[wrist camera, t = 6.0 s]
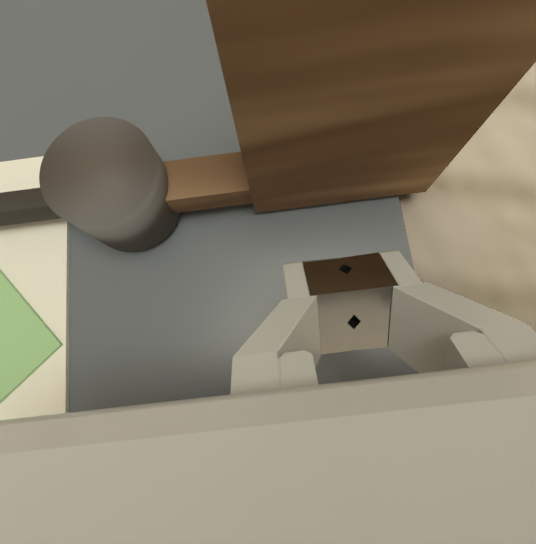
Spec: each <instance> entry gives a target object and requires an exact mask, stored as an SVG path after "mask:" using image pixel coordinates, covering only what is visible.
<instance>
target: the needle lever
mask: <svg viewBox="0 0 536 544" xmlns="http://www.w3.org/2000/svg"><path fill="white" fill-rule="evenodd" d="M206 3H207V7H208V12H209V16H210V20H211V25H212V29H213V33H214V38H215V42H216V46H217V51H218V55H219V59H220V63H221V68H222V72H223V76H224V81H225V85H226V89H227V94H228V98H229V102H230V107H231V111H232V115H233V120H234V124H235V128H236V133H237V137H238V141H239V146H240V150H241V152H233V153H225V154H218V155H210V156H203V157H195V158H187V159H180V160H172V161H165V162H163V161H162V159H161V158H160V156H159V155H158V153H157V152H156V150H155V149H154V147H153V146H152V144H151V143H150V141H149V139H148V138H147V136H146V135H145V134H144V133H143V132H142V131H141V130H140V129H139V128H138V127H137V126H135V125H133V124H132V123H130V122H128V121H126V120H123V119H119V118H115V117H95V118H90V119H86V120H83V121H80V122H78V123H76V124H74V125H72V126H70V127H69V128H67V129H66V130H65V131H63V132H62V133H61V134H60V135H59V136H58V137H56V139H55V140H54V141H53V142H52V143H51V145H50V146H49V148H48V149H47V151H46V153H45V155H44V157H43V160H42V162H41V167H40V173H39V184H40V188H33V189H25V190H17V191H10V192H2V193H0V226H6V225H14V224H21V223H29V222H37V221H45V220H52V219H60V218H63V219H64V220H66V221H68V222H69V223H71V224H73V225H74V226H76V227H78V228H79V229H81V230H83V231H84V232H86V233H88V234H89V235H91V236H92V237H94V238H96V239H97V240H99V241H101V242H102V243H104V244H106V245H107V246H109V247H111V248H113V249H116V250H120V251H125V252H137V251H142V250H146V249H149V248H151V247H153V246H155V245H157V244H159V243H160V242H162V241H163V240H164V239H165V238H166V237H167V236H168V235H169V234H170V233H171V232H172V231H173V229H174V228H175V226H176V224H177V222H178V220H179V218H180V214H181V212H187V211H195V210H203V209H211V208H219V207H226V206H234V205H242V204H250V203H253V206H254V210H255V213H262V212H270V211H278V210H285V209H293V208H301V207H309V206H317V205H325V204H333V203H340V202H348V201H356V200H364V199H372V198H380V197H388V196H395V195H403V194H411V193H419V192H426V191H427V189H428V188H429V187H430V186H431V185H432V183H433V182H434V181H435V180H436V179H437V178H438V176H439V175H440V174H441V173H442V172H443V170H444V169H445V168H446V167H447V166H448V165H449V163H450V162H451V161H452V160H453V159H454V157H455V156H456V155H457V154H458V153H459V152H460V150H461V149H462V148H463V147H464V146H465V144H466V143H467V142H468V141H469V140H470V139H471V137H472V136H473V135H474V134H475V133H476V131H477V130H478V129H479V128H480V127H481V126H482V124H483V123H484V122H485V121H486V120H487V118H488V117H489V116H490V115H491V114H492V113H493V111H494V110H495V109H496V108H497V107H498V105H499V104H500V103H501V102H502V101H503V100H504V98H505V97H506V96H507V95H508V94H509V92H510V91H511V90H512V89H513V88H514V86H515V85H516V84H517V83H518V82H519V81H520V79H521V78H522V77H523V76H524V75H525V73H526V72H527V71H528V70H529V69H530V68H531V66H532V65H533V64H534V63H535V62H536V0H206Z"/></svg>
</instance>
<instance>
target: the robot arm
mask: <svg viewBox="0 0 536 544" xmlns="http://www.w3.org/2000/svg"><path fill="white" fill-rule="evenodd" d="M282 267H283V276H284V285H285V294H286V299H283V300H281V301H280V302H279V303H278V305H277V306H276V307H275V308H274V309H273V310H272V312H271V313H270V314H269V315H268V316H267V317H266V319H265V320H264V321H263V322H262V323H261V324H260V326H259V327H258V328H257V329H256V330H255V331H254V333H253V334H252V335H251V336H250V337H249V338H248V340H247V341H246V342H245V343H244V344H243V345H242V347H241V348H240V349H239V350H238V351H237V352H236V354H235V355H234V356H233V359H232V375H231V391H230V395H221V396H212V397H203V398H194V399H185V400H177V401H168V402H159V403H150V404H141V405H132V406H123V407H114V408H105V409H96V410H87V411H78V412H69V413H61V414H52V415H43V416H34V417H25V418H16V419H7V420H0V544H536V332H535V331H534V330H533V329H532V328H531V327H530V326H529V324H528V323H525V322H523V321H520V320H518V319H516V318H513V317H511V316H508V315H506V314H504V313H501V312H499V311H496V310H494V309H492V308H489V307H487V306H484V305H482V304H480V303H477V302H475V301H472V300H470V299H468V298H465V297H463V296H460V295H458V294H456V293H453V292H451V291H448V290H446V289H444V288H441V287H439V286H436V285H434V284H432V283H429V282H425V283H422V282H421V280H420V279H419V277H418V276H417V275H416V273H415V272H414V271H413V269H412V268H411V266H410V265H409V264H408V262H407V261H406V260H405V258H404V257H403V255H402V254H401V253H400V251H398V250H390V251H384V252H377V253H370V254H363V255H357V256H350V257H343V258H330V259H321V260H311V261H302V262H301V261H299V262H292V263H284V264H283V265H282ZM383 347H388V349H389V350H391V351H392V352H393V353H394V354H396V355H397V356H398V357H399V358H401V359H402V360H403V361H404V362H406V363H407V364H408V365H409V366H411V367H412V368H413V369H415V370H416V371H417V372H418V374H409V375H400V376H391V377H382V378H373V379H364V380H355V381H346V382H337V383H328V384H318V379H317V375H316V370H315V367H316V365H317V363H318V361H319V359H320V357H321V355H323V354H330V353H337V352H344V351H351V350H361V349H372V348H383Z"/></svg>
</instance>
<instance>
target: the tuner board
mask: <svg viewBox="0 0 536 544" xmlns="http://www.w3.org/2000/svg"><path fill="white" fill-rule="evenodd" d="M95 117H115V118H119V119H123V120H126V121H128V122H130V123H132V124H133V125H135V126H137V127H138V128H139V129H140V130H141V131H142V132H143V133H144V134H145V135H146V136H147V138H148V139H149V141H150V143H151V144H152V146H153V147H154V149H155V150H156V152H157V153H158V155H159V156H160V158H161V159H162V161H163V162H165V161H172V160H180V159H187V158H195V157H203V156H210V155H218V154H225V153H233V152H241V150H240V146H239V141H238V137H237V133H236V128H235V124H234V120H233V115H232V111H231V107H230V102H229V98H228V94H227V89H226V85H225V81H224V76H223V72H222V68H221V63H220V59H219V55H218V51H217V46H216V42H215V38H214V33H213V29H212V25H211V20H210V16H209V12H208V7H207V3H206V0H0V193H2V192H10V191H17V190H25V189H33V188H40V184H39V173H40V167H41V162H42V160H43V157H44V155H45V153H46V151H47V149H48V148H49V146H50V145H51V143H52V142H53V141H54V140H55V139H56V137H58V136H59V135H60V134H61V133H62V132H63V131H65V130H66V129H67V128H69V127H70V126H72V125H74V124H76V123H78V122H80V121H83V120H86V119H90V118H95ZM390 250H398V251H400V253H401V254H402V255H403V257H404V258H405V260H406V261H407V262H408V264H409V265H410V266H411V268H412V269H413V264H412V259H411V254H410V249H409V244H408V240H407V235H406V230H405V225H404V220H403V216H402V211H401V206H400V201H399V196H398V195H395V196H388V197H380V198H372V199H364V200H356V201H348V202H340V203H333V204H325V205H317V206H309V207H301V208H293V209H285V210H278V211H270V212H262V213H255V210H254V206H253V203H250V204H242V205H234V206H226V207H219V208H211V209H203V210H195V211H187V212H181V214H180V218H179V220H178V222H177V224H176V226H175V228H174V229H173V231H172V232H171V233H170V234H169V235H168V236H167V237H166V238H165V239H164V240H163V241H162V242H160V243H159V244H157V245H155V246H153V247H151V248H149V249H146V250H142V251H137V252H125V251H120V250H116V249H113V248H111V247H109V246H107V245H106V244H104V243H102V242H101V241H99V240H97V239H96V238H94V237H92V236H91V235H89V234H88V233H86V232H84V231H83V230H81V229H79V228H78V227H76V226H74V225H73V224H71V223H69V222H68V221H66V220H64V219H63V218H60V219H52V220H45V221H37V222H29V223H21V224H14V225H6V226H0V420H7V419H16V418H25V417H34V416H43V415H52V414H61V413H69V412H78V411H87V410H96V409H105V408H114V407H123V406H132V405H141V404H150V403H159V402H168V401H177V400H185V399H194V398H203V397H212V396H221V395H230V391H231V375H232V359H233V356H234V355H235V354H236V352H237V351H238V350H239V349H240V348H241V347H242V345H243V344H244V343H245V342H246V341H247V340H248V338H249V337H250V336H251V335H252V334H253V333H254V331H255V330H256V329H257V328H258V327H259V326H260V324H261V323H262V322H263V321H264V320H265V319H266V317H267V316H268V315H269V314H270V313H271V312H272V310H273V309H274V308H275V307H276V306H277V305H278V303H279V302H280V301H281V300H283V299H286V294H285V285H284V276H283V267H282V265H283V264H284V263H292V262H299V261H301V262H302V261H311V260H321V259H330V258H343V257H350V256H357V255H363V254H370V253H377V252H384V251H390ZM413 271H414V269H413ZM315 370H316V375H317V379H318V384H328V383H337V382H346V381H355V380H364V379H373V378H382V377H391V376H400V375H409V374H418V372H417V371H416V370H415V369H413V368H412V367H411V366H409V365H408V364H407V363H406V362H404V361H403V360H402V359H401V358H399V357H398V356H397V355H396V354H394V353H393V352H392V351H391V350H389V349H388V347H383V348H372V349H361V350H351V351H344V352H337V353H330V354H323V355H321V357H320V359H319V361H318V363H317V365H316V367H315Z"/></svg>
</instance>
